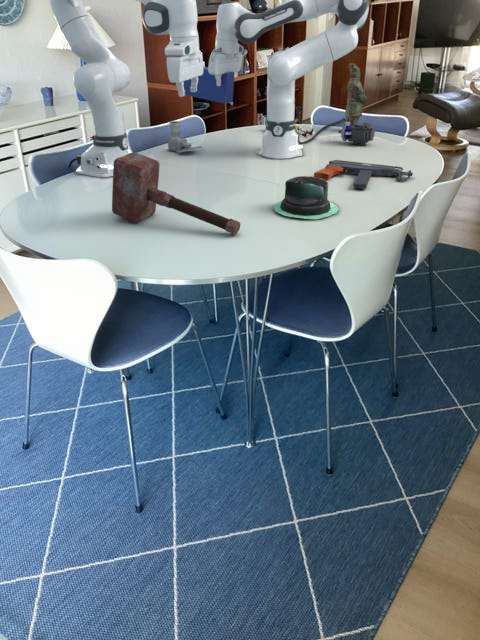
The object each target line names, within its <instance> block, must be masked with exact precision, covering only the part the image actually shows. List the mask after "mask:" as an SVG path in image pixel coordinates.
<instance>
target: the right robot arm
mask: <svg viewBox="0 0 480 640" xmlns="http://www.w3.org/2000/svg"><path fill="white" fill-rule="evenodd" d="M369 4H370V3H369V0H285V1H284V2H283V3H282V4H279V5H277V6H275V7H273V8H270V9H268V10H266V11H263V12H261V13H254V12H252V11H250V10H249V9H247V8H245V7H244V6H243V5H241V3H239V1H236V0H230V1H224V2H221V4H219V5H218V8H217V14H216V21H215V22H216V24H215V27H216V35H215V42H214V44H215V45H214V49H212V51H211V54H210V56H209V59H208V66H207V67H208V72H209V74H211V75H215V78H216V81H217V86H222V81H221V75H222V74H224V73H227V72H235V73H238V72H240V71H241V70H242V65H243V52H244V45H250V44H253V43H255V42H256V41H257V40H258V39H259V38H260V37H261V36H262V35H263V34H264V33H267V32H268V31H271V30H273V29H276V28H278V27H280V26H284V25H285V24H289V23H296V22H297V23H298V22H306V21H309V20H313V19H316V18H318V17H321V16H323V15H326V14H329V13H330V14H331V13H332V14H333V13H334V16H335V18H336V19H337V21H338V22H337V23H336V24H335V25H334V26H333V27H331V28H328V29H326V30H324V31H322V32H320V33H317V34H315V35H313V36H311V37H309V38H307V39H305V40H303V41H301V42H299V43H297V44H295V45H293V46H292V47H289V48H287V49H285V50H279V51H275V52H274V53H273V54H271V55H270V57H269V58H268V62H267V65H266V73H267V81H266V82H267V87H266V88H267V89H266V120H265V131H264V132H263V133H262V135H261V149H260V150H258V151H257V155H259V156H263V157H265V158H269V159H279V160H281V159H282V160H283V159H293V158H295V157H296V158H297V157H302V156H303V150H302V148H303V145H305V144H307V143H309V142H311V141H313V140H315V138H316V137H317V136H318V135H319V134H320V133H321V132H323V130H325V129H327V128H329V127H331V126H334V125H337V124H340V123H342V122H343V121H344V122H346V117H342V118H341V119H340V120H338V121H334V122H331V123H329V124H326V125H325V126H322V128H320V129H319V130H318V131H316V133H315V134H314V135H312V137H311V138H308V139H307V140H305V141H301V140H300V135H299V134H297V133H296V132H295V126H296V122H295V120H296V118H295V103H296V98H295V93H296V92H295V91H296V90H295V89H296V80H298V79H300V78H301V77H304V76H305V75H307V74H309V73H311V72H313V71H315V70H317V69H319V68H321V67H324V66H326V65H328V64H330V63H333V62H334V61H337V60H339V59H341V58H343V57H344V56H346V55H348V54H349V53H351V52H352V51H353V50H355V49H356V48H357V46H358V43H359V33H358V31H360V30H361V29H362V28H363V27H364V26H365V24H366V22H367V20H368V15H369V9H370V7H369ZM239 42H240V43H241V44H244V45H243V46H242V45H241V44H240V43H239Z"/></svg>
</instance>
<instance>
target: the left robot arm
mask: <svg viewBox="0 0 480 640" xmlns="http://www.w3.org/2000/svg"><path fill="white" fill-rule="evenodd" d="M135 1H137V2H139V3H140V4H143V5H144V6H143V9H142V13H141V20H142V25H143V26H144V28H145V30H146V31H147V32H148V33H149V34H151V35H155V36H164V35H167V36H168V35H169V39H170V41H169V42H168V44H167V45H166V47H164V55H165V56H166V69H167V78H168V80H169V82H170V83H173V84H174V83H175V87H176V89H177V91H178V92H177V93H178V97H179V98H180V97H181V98H183V97H185V96H187V95H186V94H185V90H184V87H183V85H184V81H186V80H189V79H191V86H190V89H191V90H190V91H191V92H196V91H197V83H198V76H201V75H203V66H204V62H203V55H202V52H201V51H200V37H199V31H198V21H199V18H198V17H199V16H198V7H197V0H135ZM49 4H50V8H51V11H52V14H53V16H54V18H55V22H56V23H57V25H58V28H59V30H60V32H61V34H62V36H63V37H64V39H65V41H66V43H67V45H68V48H69V49H70V51H71V52H72V54H73V55H75V56H76V57H77V58H80V59H81V61H83V62H84V63H85V64H83V65H82V66H80V67H79V68H77V69H76V70H75V71H74V72H73V77H72V80H73V82H72V83H73V86H74V88H75V90H76V91H77V93H78V94H79V95H81V97H83V98H84V99H85V101H86V103H87V105H88V107H89V110H90V112H91V115H92V121H93V126H94V133H95V134H93V135H92V136H90V137H89V141H92V145H91V146H90V147H88V148H87V149H86V150H85V151H84V152H82V153H80V154H78V155H76V157H75V158H73V159H71V160H70V161H69V164H68V165H67V168H68V169H70V168H71V167H72V164H73V163H74V162H77V165H80V166H79V167H77V168H76V169H75V174H79V175H85V176H90V177H97V178H111V177H113V169H114V161H115V160H116V159H117V158H119V157H122V156H125V155H127V154H130V153H131V150H130V149H129V142H128V135H127V132H126V126H125V119H124V118H125V117H124V112H123V110H122V109H121V107H119V106H117V104H116V101H115V100H114V96H113V94H115V93H118V92H121V91H122V90H124V89H125V88H127V87H128V86H129V85H130V83H131V79H132V75H131V74H132V73H131V70H130V68H129V66H128V65H127V64H126V63H125V62H123V61H122V60H120V59H119V58H118V57H117V56H116V55H115V54H114V53H113V52H112V51H111V50H110V49H109V47H108V46H107V45H106V43H105V42H104V41H103V40H102V37H100V34H99V33H98V31H97V29H96V27H95V25H94V24H93V21H92V19H91V18H90V16H89V14H88V12H87V10H86V8H85V6H84V3H83V0H50V1H49Z"/></svg>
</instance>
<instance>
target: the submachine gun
mask: <svg viewBox="0 0 480 640" xmlns="http://www.w3.org/2000/svg"><path fill="white" fill-rule="evenodd" d="M403 170H404V167H402V166H397V165H396V166H394V165H385V164H376V163H369V162H368V163H367V162H361V161H360V162H359V161H349V160H343V159H342V160H341V159H333V160H329V161H328V163H327V164H326V166H325V168H323V169H320V170H318V171H315V172H314V173H313V177H317V178H322V179H323V180H325V181H327V180H330V178H332V177H333V176H336V175H341V174H342V175H349V176H350V175H351V176H352V175H357V176H356V178H355V179H354V180H355V181H354V182H353V189H361V190H366V189H367V186H368V184H369V182H370V180H371V177H372V176H375V177H381V176H382V177H383V176H385V177H397V178H396V180H397V181H399V182H406V181H408V180H409V179H410V178H411V177H413V175H414V173H413V172H412V170H411V169H409V170H408V171H403ZM402 176H406V178H402Z"/></svg>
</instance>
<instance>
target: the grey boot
mask: <svg viewBox="0 0 480 640" xmlns="http://www.w3.org/2000/svg"><path fill="white" fill-rule="evenodd" d="M180 128H181V126H180V121H178V120H173V121H172V120H171V121H169V129H170V137H167V146H168V148H167V149H168V151H171V152H174V153H175V152H176V154H181V153H187V152H190V151H194V150H197V149H201V148H203V147H202V145H199V146H194V147H193V146H192V143H190V142H188V139H186V138H182V137H180V136H181V135H180Z"/></svg>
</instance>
